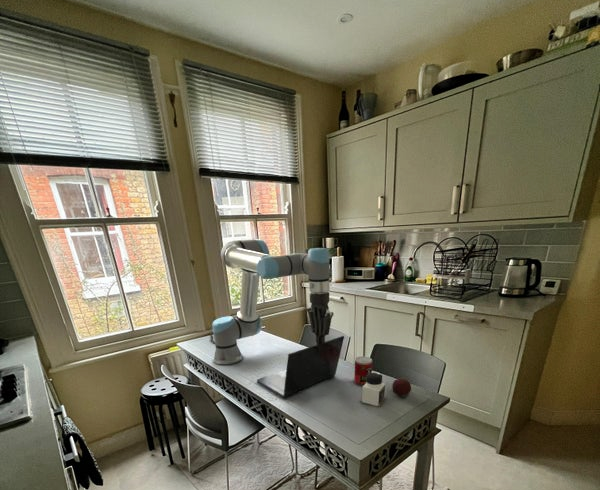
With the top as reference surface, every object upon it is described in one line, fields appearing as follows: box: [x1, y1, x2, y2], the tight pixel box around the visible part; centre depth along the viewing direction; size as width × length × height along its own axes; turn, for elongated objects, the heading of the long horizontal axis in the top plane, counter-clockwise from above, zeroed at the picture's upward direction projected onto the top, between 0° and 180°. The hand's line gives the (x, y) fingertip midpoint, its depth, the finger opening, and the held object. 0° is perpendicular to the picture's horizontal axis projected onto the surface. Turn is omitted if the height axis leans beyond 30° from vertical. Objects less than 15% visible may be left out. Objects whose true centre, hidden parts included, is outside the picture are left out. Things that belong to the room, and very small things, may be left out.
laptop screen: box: [283, 335, 345, 397], centre depth 135 cm, size 21×30×1 cm
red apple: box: [391, 378, 412, 397], centre depth 131 cm, size 7×8×7 cm
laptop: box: [256, 368, 335, 400], centre depth 149 cm, size 21×30×2 cm
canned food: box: [353, 356, 373, 386], centre depth 142 cm, size 8×8×11 cm
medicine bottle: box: [361, 371, 386, 407], centre depth 126 cm, size 7×7×12 cm
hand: (320, 350), depth 128 cm, fingers closed
